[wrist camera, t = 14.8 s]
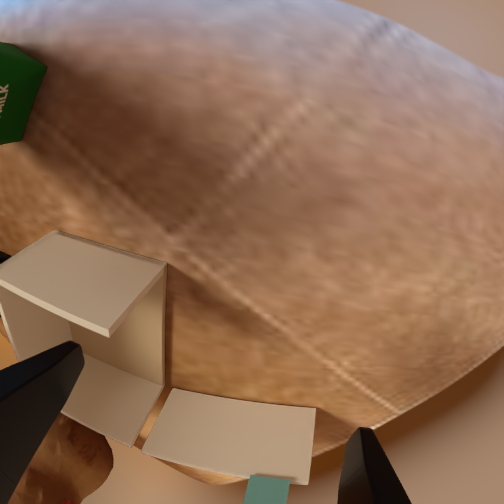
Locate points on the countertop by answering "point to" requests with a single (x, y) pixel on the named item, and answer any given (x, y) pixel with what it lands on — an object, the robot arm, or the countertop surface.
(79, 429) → the butternut squash
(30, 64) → the milk carton
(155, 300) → the carton
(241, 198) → the countertop surface
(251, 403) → the carton flap
